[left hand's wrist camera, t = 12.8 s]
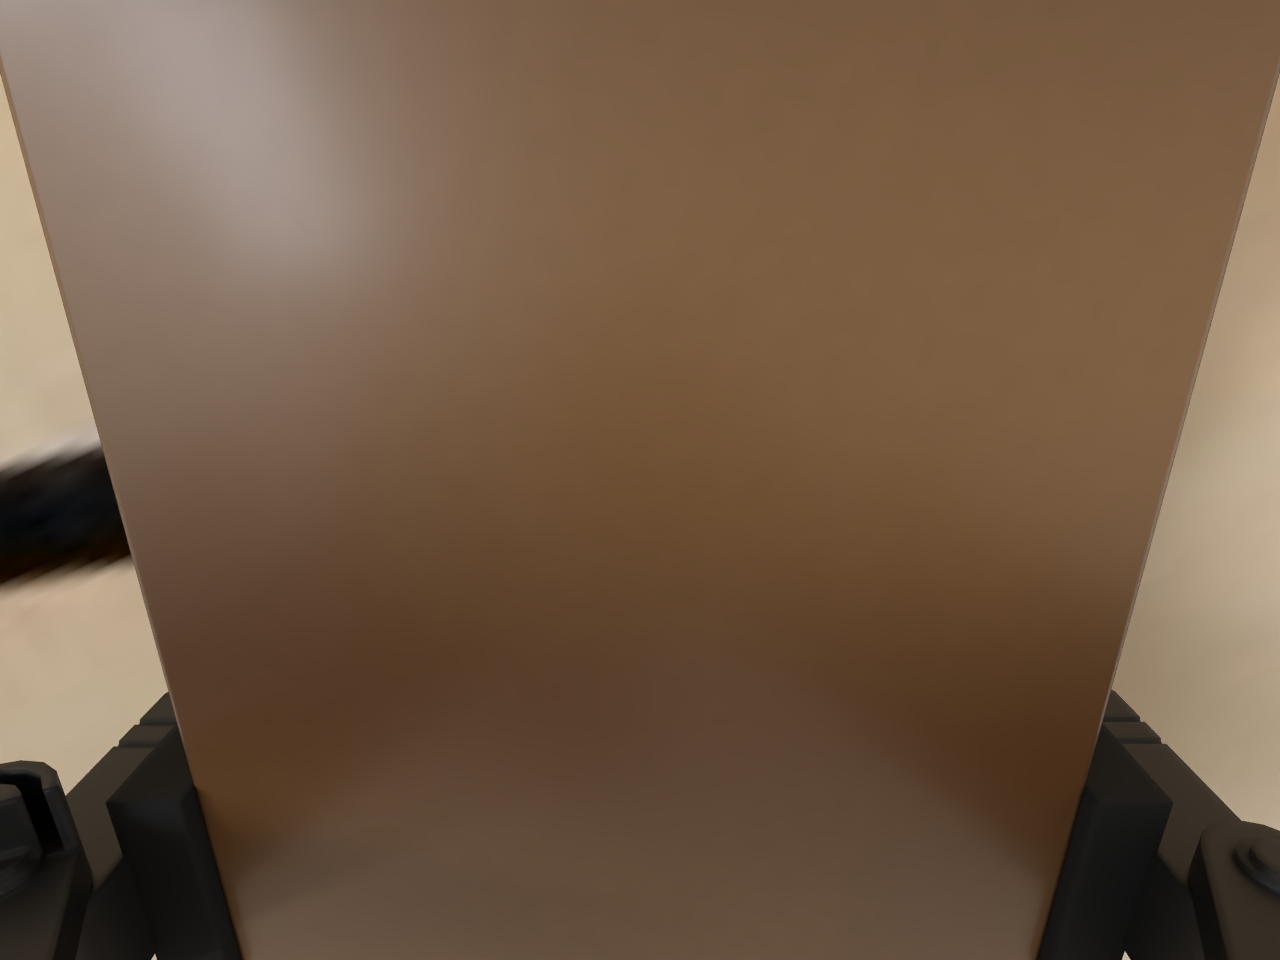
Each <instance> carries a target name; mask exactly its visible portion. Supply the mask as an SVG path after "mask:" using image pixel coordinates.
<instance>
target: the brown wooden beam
mask: <svg viewBox="0 0 1280 960" xmlns="http://www.w3.org/2000/svg"><path fill="white" fill-rule="evenodd" d="M0 73H1V77H2V81H3V85H4V88H5V92H6V96H7V99H8V103H9V107H10V110H11V114H12V118H13V121H14V125H15V129H16V132H17V136H18V140H19V143H20V147H21V151H22V154H23V158H24V162H25V165H26V169H27V173H28V176H29V180H30V184H31V187H32V191H33V195H34V198H35V202H36V206H37V209H38V213H39V217H40V220H41V224H42V228H43V231H44V235H45V239H46V242H47V246H48V250H49V253H50V257H51V261H52V265H53V268H54V272H55V276H56V279H57V283H58V287H59V290H60V294H61V298H62V301H63V305H64V309H65V312H66V316H67V320H68V323H69V327H70V331H71V334H72V338H73V342H74V345H75V349H76V353H77V356H78V360H79V364H80V367H81V371H82V375H83V378H84V382H85V386H86V389H87V393H88V397H89V400H90V404H91V408H92V411H93V415H94V419H95V422H96V426H97V430H98V433H99V437H100V441H101V444H102V448H103V452H104V456H105V459H106V463H107V467H108V470H109V474H110V478H111V481H112V485H113V489H114V492H115V496H116V500H117V503H118V507H119V511H120V514H121V518H122V522H123V525H124V529H125V533H126V536H127V540H128V544H129V547H130V551H131V555H132V558H133V562H134V566H135V569H136V573H137V577H138V580H139V584H140V588H141V591H142V595H143V599H144V602H145V606H146V610H147V613H148V617H149V621H150V624H151V628H152V632H153V636H154V639H155V643H156V647H157V650H158V654H159V658H160V661H161V665H162V669H163V672H164V676H165V680H166V683H167V687H168V691H169V694H170V698H171V702H172V705H173V709H174V713H175V716H176V720H177V724H178V727H179V731H180V735H181V738H182V742H183V746H184V749H185V753H186V757H187V760H188V764H189V768H190V771H191V775H192V779H193V782H194V786H195V790H196V793H197V797H198V801H199V804H200V808H201V812H202V815H203V819H204V823H205V827H206V830H207V834H208V838H209V841H210V845H211V849H212V852H213V856H214V860H215V863H216V867H217V871H218V874H219V878H220V882H221V885H222V889H223V893H224V896H225V900H226V904H227V907H228V911H229V915H230V918H231V922H232V926H233V929H234V933H235V937H236V940H237V944H238V948H239V951H240V955H241V959H242V960H1037V959H1038V955H1039V951H1040V948H1041V944H1042V940H1043V937H1044V933H1045V929H1046V926H1047V922H1048V918H1049V915H1050V911H1051V907H1052V904H1053V900H1054V896H1055V893H1056V889H1057V885H1058V882H1059V878H1060V874H1061V871H1062V867H1063V864H1064V860H1065V856H1066V853H1067V849H1068V845H1069V842H1070V838H1071V834H1072V831H1073V827H1074V823H1075V820H1076V816H1077V812H1078V809H1079V805H1080V801H1081V798H1082V794H1083V790H1084V787H1085V783H1086V779H1087V776H1088V772H1089V768H1090V765H1091V761H1092V757H1093V754H1094V750H1095V746H1096V743H1097V739H1098V735H1099V732H1100V728H1101V724H1102V721H1103V717H1104V713H1105V710H1106V706H1107V702H1108V699H1109V695H1110V692H1111V688H1112V684H1113V681H1114V677H1115V673H1116V670H1117V666H1118V662H1119V659H1120V655H1121V651H1122V648H1123V644H1124V640H1125V637H1126V633H1127V629H1128V626H1129V622H1130V618H1131V615H1132V611H1133V607H1134V604H1135V600H1136V596H1137V593H1138V589H1139V585H1140V582H1141V578H1142V574H1143V571H1144V567H1145V563H1146V560H1147V556H1148V552H1149V549H1150V545H1151V541H1152V538H1153V534H1154V530H1155V527H1156V523H1157V520H1158V516H1159V512H1160V509H1161V505H1162V501H1163V498H1164V494H1165V490H1166V487H1167V483H1168V479H1169V476H1170V472H1171V468H1172V465H1173V461H1174V457H1175V454H1176V450H1177V446H1178V443H1179V439H1180V435H1181V432H1182V428H1183V424H1184V421H1185V417H1186V413H1187V410H1188V406H1189V402H1190V399H1191V395H1192V391H1193V388H1194V384H1195V380H1196V377H1197V373H1198V369H1199V366H1200V362H1201V359H1202V355H1203V351H1204V348H1205V344H1206V340H1207V337H1208V333H1209V329H1210V326H1211V322H1212V318H1213V315H1214V311H1215V307H1216V304H1217V300H1218V296H1219V293H1220V289H1221V285H1222V282H1223V278H1224V274H1225V271H1226V267H1227V263H1228V260H1229V256H1230V252H1231V249H1232V245H1233V241H1234V238H1235V234H1236V230H1237V227H1238V223H1239V219H1240V216H1241V212H1242V208H1243V205H1244V201H1245V197H1246V194H1247V190H1248V187H1249V183H1250V179H1251V176H1252V172H1253V168H1254V165H1255V161H1256V157H1257V154H1258V150H1259V146H1260V143H1261V139H1262V135H1263V132H1264V128H1265V124H1266V121H1267V117H1268V113H1269V110H1270V106H1271V102H1272V99H1273V95H1274V91H1275V88H1276V84H1277V80H1278V77H1279V73H1280V0H0Z"/></svg>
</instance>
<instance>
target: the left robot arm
mask: <svg viewBox="0 0 1280 960" xmlns="http://www.w3.org/2000/svg"><path fill="white" fill-rule="evenodd" d="M1124 951H1125V952H1126V953H1127V955H1128V956H1129V958H1130V959H1131V960H1280V831H1278V830H1276V829H1273V828H1271V827H1268V826H1265V825H1261V824H1256V823H1251V822H1246V821H1241V820H1240V819H1239V818H1238V817H1237V816H1236V815H1235V814H1234V813H1233V812H1232V811H1231V810H1230V809H1229V808H1228V807H1227V806H1226V805H1225V803H1224V802H1223V801H1222V800H1221V799H1220V798H1219V797H1218V796H1217V795H1216V794H1215V793H1214V792H1213V791H1212V790H1211V789H1210V788H1209V787H1208V786H1207V785H1206V784H1205V783H1204V782H1203V781H1202V780H1201V779H1200V778H1199V777H1198V776H1197V775H1196V774H1195V773H1194V772H1193V771H1192V770H1191V769H1190V768H1189V767H1188V766H1187V765H1186V764H1185V763H1184V762H1183V761H1182V760H1181V759H1180V757H1179V756H1178V755H1177V754H1176V753H1175V752H1174V751H1173V750H1172V749H1171V748H1170V747H1169V746H1168V745H1167V744H1162V743H1161V738H1160V737H1159V736H1158V735H1157V734H1156V733H1155V732H1154V731H1153V730H1152V729H1151V728H1150V727H1149V726H1148V725H1147V724H1146V723H1145V722H1141V721H1140V717H1139V716H1138V715H1137V714H1136V713H1135V711H1134V710H1133V709H1132V708H1131V707H1130V706H1129V705H1128V704H1127V703H1126V702H1125V701H1124V700H1123V699H1122V698H1121V697H1120V696H1119V695H1118V694H1117V693H1116V692H1115V691H1113V690H1112V689H1111V692H1110V695H1109V699H1108V702H1107V706H1106V710H1105V713H1104V717H1103V721H1102V724H1101V728H1100V732H1099V735H1098V739H1097V743H1096V746H1095V750H1094V754H1093V757H1092V761H1091V765H1090V768H1089V772H1088V776H1087V779H1086V783H1085V787H1084V790H1083V794H1082V798H1081V801H1080V805H1079V809H1078V812H1077V816H1076V820H1075V823H1074V827H1073V831H1072V834H1071V838H1070V842H1069V845H1068V849H1067V853H1066V856H1065V860H1064V864H1063V867H1062V871H1061V874H1060V878H1059V882H1058V885H1057V889H1056V893H1055V896H1054V900H1053V904H1052V907H1051V911H1050V915H1049V918H1048V922H1047V926H1046V929H1045V933H1044V937H1043V940H1042V944H1041V948H1040V951H1039V955H1038V959H1037V960H1122V957H1123V954H1124ZM154 954H156V957H157V960H242V959H241V955H240V951H239V948H238V944H237V940H236V937H235V933H234V929H233V926H232V922H231V918H230V915H229V911H228V907H227V904H226V900H225V896H224V893H223V889H222V885H221V882H220V878H219V874H218V871H217V867H216V863H215V860H214V856H213V852H212V849H211V845H210V841H209V838H208V834H207V830H206V827H205V823H204V819H203V815H202V812H201V808H200V804H199V801H198V797H197V793H196V790H195V786H194V782H193V779H192V775H191V771H190V768H189V764H188V760H187V757H186V753H185V749H184V746H183V742H182V738H181V735H180V731H179V727H178V724H177V720H176V716H175V713H174V709H173V705H172V702H171V698H170V694H169V692H167V693H166V694H164V695H163V696H162V697H161V698H160V700H159V701H158V702H157V703H156V704H155V705H154V706H153V707H152V708H151V709H150V710H149V711H148V712H147V713H146V714H145V715H144V716H143V717H142V718H141V719H140V724H139V725H134V726H133V727H132V728H131V729H130V730H129V731H128V732H127V733H126V734H125V736H124V737H123V738H122V739H121V740H120V741H119V745H118V747H113V748H112V749H111V750H110V751H109V752H108V753H107V754H106V755H105V756H104V757H103V758H102V759H101V760H100V761H99V762H98V763H97V764H96V765H95V766H94V767H93V768H92V769H91V770H90V772H89V773H88V774H87V775H86V776H85V777H84V778H83V779H82V780H81V781H80V782H79V783H78V784H77V785H76V786H75V787H74V788H73V789H72V790H71V791H70V792H69V793H68V794H67V795H66V796H65V794H64V791H63V788H62V786H61V783H60V780H59V777H58V774H57V771H56V770H54V769H53V768H51V767H50V766H48V765H47V764H45V763H44V762H34V761H22V760H21V761H15V762H9V763H4V764H0V960H151V959H152V957H153V956H154Z"/></svg>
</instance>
